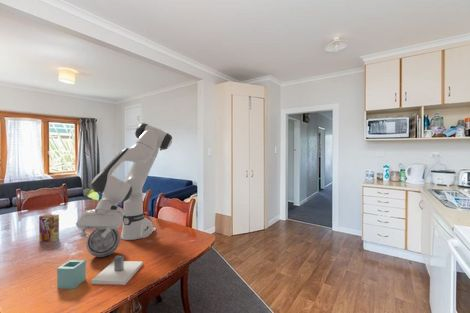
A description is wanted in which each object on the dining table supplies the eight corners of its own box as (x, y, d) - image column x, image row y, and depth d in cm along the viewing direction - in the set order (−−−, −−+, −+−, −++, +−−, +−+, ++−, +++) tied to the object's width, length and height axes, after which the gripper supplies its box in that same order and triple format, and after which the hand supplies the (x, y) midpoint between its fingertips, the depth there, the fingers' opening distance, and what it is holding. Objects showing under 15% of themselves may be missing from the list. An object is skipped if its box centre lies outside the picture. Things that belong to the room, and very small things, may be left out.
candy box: (59, 239, 136) (59, 214, 135) (53, 242, 131) (53, 216, 131) (45, 239, 136) (44, 214, 135) (38, 241, 131) (38, 216, 131)
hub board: (113, 263, 106) (113, 260, 106) (142, 264, 106) (142, 261, 106) (91, 283, 90) (91, 280, 90) (125, 284, 90) (125, 281, 90)
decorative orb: (83, 264, 106) (83, 233, 105) (89, 251, 119) (89, 224, 118) (119, 258, 111) (118, 229, 111) (121, 247, 125) (120, 220, 124)
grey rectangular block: (117, 268, 99) (116, 255, 99) (123, 268, 99) (123, 255, 99) (114, 271, 97) (114, 257, 97) (121, 271, 97) (121, 257, 97)
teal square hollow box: (70, 278, 94) (70, 260, 94) (85, 279, 94) (85, 260, 93) (57, 288, 87) (57, 268, 87) (73, 288, 87) (73, 268, 87)
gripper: (81, 206, 110) (66, 233, 100) (122, 207, 109) (111, 234, 100) (88, 213, 114) (74, 239, 105) (127, 213, 114) (116, 240, 104)
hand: (92, 237), depth 102 cm, fingers open, 8 cm apart
